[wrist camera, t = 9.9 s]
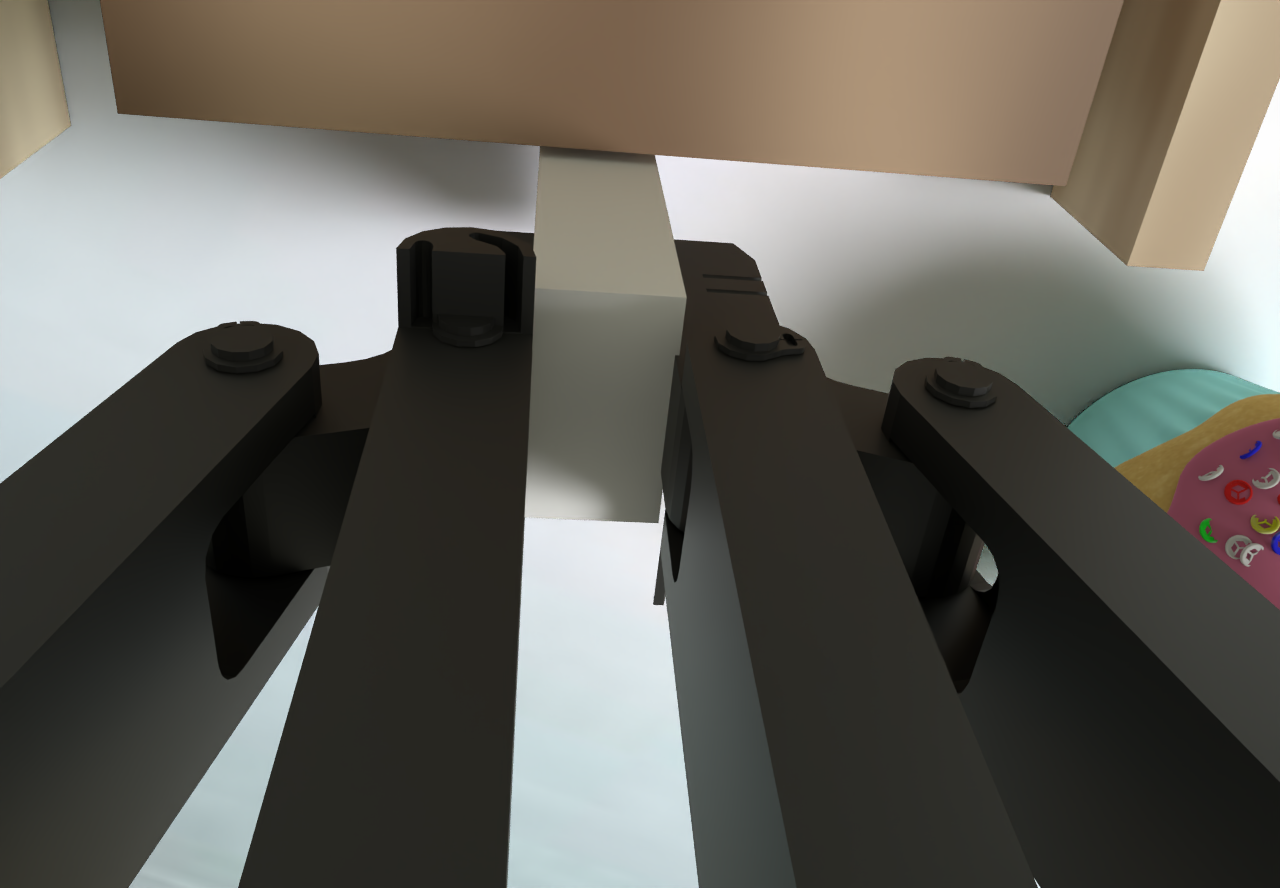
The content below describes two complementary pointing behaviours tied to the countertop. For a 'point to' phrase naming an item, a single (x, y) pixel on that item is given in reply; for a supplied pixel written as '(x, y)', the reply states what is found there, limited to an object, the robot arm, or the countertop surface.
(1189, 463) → the cupcake
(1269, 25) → the bay
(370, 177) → the countertop surface
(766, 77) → the t block
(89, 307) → the countertop surface
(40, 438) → the countertop surface
